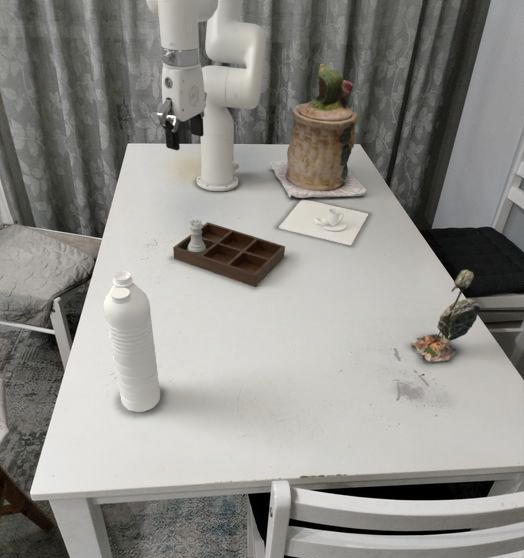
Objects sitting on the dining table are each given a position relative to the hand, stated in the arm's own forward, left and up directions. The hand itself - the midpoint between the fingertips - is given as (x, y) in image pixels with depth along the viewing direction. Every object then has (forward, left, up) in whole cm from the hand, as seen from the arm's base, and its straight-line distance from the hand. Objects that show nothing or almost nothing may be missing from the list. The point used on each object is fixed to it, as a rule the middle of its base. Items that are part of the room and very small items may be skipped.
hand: (185, 141), depth 113 cm
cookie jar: (-48, +15, -23) cm, 55 cm away
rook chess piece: (+8, +8, -22) cm, 25 cm away
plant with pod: (+12, +67, -23) cm, 72 cm away
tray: (+5, +15, -23) cm, 28 cm away
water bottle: (+53, +26, -23) cm, 63 cm away
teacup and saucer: (-26, +27, -23) cm, 44 cm away
